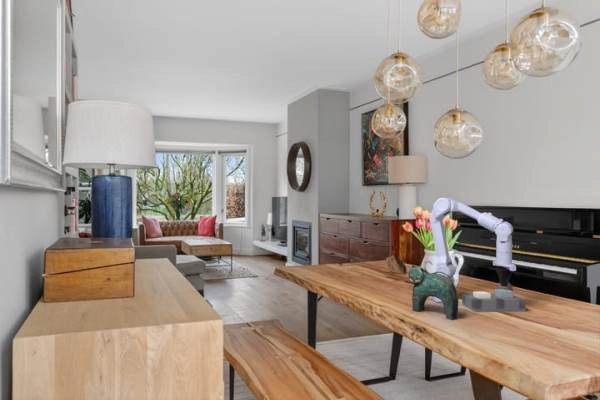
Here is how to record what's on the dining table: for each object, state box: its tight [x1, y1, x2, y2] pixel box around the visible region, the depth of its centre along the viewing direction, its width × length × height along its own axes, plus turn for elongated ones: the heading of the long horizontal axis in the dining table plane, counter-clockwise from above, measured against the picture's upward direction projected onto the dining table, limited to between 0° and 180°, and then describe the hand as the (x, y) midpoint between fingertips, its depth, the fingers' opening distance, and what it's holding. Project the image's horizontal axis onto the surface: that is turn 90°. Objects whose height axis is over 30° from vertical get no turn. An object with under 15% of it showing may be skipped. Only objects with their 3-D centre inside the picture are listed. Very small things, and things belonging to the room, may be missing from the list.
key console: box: [461, 292, 527, 313], centre depth 176 cm, size 20×12×4 cm, turn 92°
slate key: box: [494, 288, 514, 298], centre depth 176 cm, size 5×5×4 cm
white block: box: [472, 291, 491, 298], centre depth 176 cm, size 5×5×4 cm
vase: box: [495, 282, 514, 292], centre depth 191 cm, size 7×7×9 cm
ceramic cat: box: [408, 260, 459, 321], centre depth 166 cm, size 20×6×20 cm, turn 37°
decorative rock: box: [385, 254, 407, 275], centre depth 259 cm, size 12×6×11 cm, turn 50°
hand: (504, 286), depth 176 cm, fingers closed
